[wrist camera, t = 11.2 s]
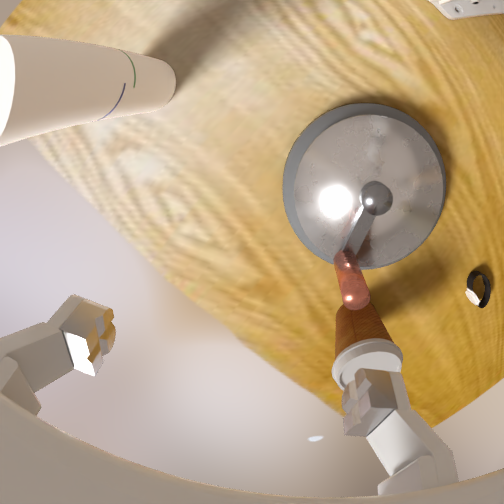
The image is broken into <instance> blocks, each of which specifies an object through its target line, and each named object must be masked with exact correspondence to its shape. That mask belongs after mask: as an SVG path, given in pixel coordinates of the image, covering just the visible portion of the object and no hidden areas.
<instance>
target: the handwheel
mask: <svg viewBox="0 0 504 504" xmlns="http://www.w3.org/2000/svg"><path fill="white" fill-rule="evenodd" d="M294 198H295V207H296V212H297V216H298V219H299V221H300V224H301V226H302V228H303V230H304V232H305V234H306V235H307V237H308V238H309V239H310V241H311V242H312V243H313V244H314V245H315V246H316V247H317V248H318V249H319V250H320V251H322V252H323V253H324V254H325V255H327V256H329V257H330V258H332V259H333V262H334V266H335V270H336V274H337V278H338V282H339V286H340V290H341V294H342V298H343V303H344V305H345V307H346V308H348V309H350V310H359V309H362V308H364V307H365V306H366V305H367V304H368V303H369V301H370V293H369V290H368V287H367V285H366V282H365V279H364V277H363V274H362V272H361V269H360V267H372V266H380V265H384V264H388V263H391V262H393V261H396V260H398V259H400V258H402V257H404V256H405V255H407V254H408V253H410V252H411V251H413V250H414V249H415V248H416V247H417V246H418V245H419V244H420V243H421V242H422V241H423V240H424V239H425V238H426V236H427V235H428V234H429V233H430V231H431V229H432V228H433V226H434V224H435V222H436V220H437V217H438V215H439V211H440V208H441V203H442V198H443V179H442V174H441V169H440V166H439V163H438V160H437V158H436V156H435V154H434V152H433V150H432V148H431V147H430V145H429V144H428V143H427V141H426V140H425V139H424V138H423V137H422V136H421V135H420V134H419V133H418V132H417V131H415V130H414V129H413V128H411V127H410V126H408V125H407V124H405V123H403V122H401V121H398V120H396V119H393V118H389V117H386V116H379V115H358V116H352V117H349V118H346V119H343V120H340V121H338V122H336V123H334V124H332V125H331V126H329V127H328V128H326V129H325V130H323V131H322V132H321V133H320V134H319V135H318V136H317V137H316V138H315V139H314V140H313V141H312V142H311V144H310V145H309V146H308V148H307V149H306V151H305V153H304V154H303V156H302V159H301V161H300V163H299V166H298V169H297V172H296V177H295V183H294Z"/></svg>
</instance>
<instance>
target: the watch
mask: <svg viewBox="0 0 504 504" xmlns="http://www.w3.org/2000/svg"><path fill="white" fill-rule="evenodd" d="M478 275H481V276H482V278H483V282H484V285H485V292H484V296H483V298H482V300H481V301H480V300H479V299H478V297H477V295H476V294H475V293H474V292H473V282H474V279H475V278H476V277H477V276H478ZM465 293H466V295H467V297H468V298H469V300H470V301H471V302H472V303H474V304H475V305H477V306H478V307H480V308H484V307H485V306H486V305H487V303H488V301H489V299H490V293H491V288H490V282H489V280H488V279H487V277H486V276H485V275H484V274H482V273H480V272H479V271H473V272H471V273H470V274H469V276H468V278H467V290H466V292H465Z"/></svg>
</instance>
